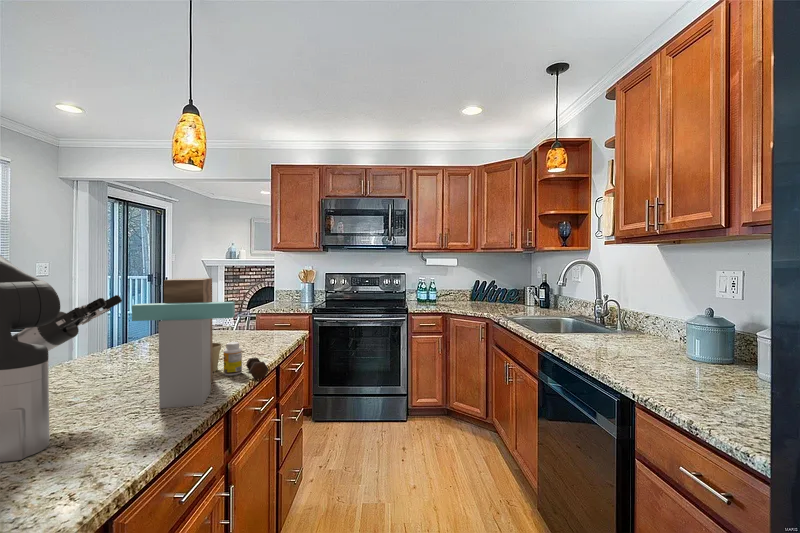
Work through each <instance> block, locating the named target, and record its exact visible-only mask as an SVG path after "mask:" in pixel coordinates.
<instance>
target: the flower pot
mask: <svg viewBox="0 0 800 533" xmlns="http://www.w3.org/2000/svg"><path fill="white" fill-rule="evenodd" d="M222 346H223V343H220V342H212V347H213V373H214V372H216V371H217V370H218V367H219V361H220V353H221V350H222Z"/></svg>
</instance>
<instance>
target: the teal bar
mask: <svg viewBox="0 0 800 533" xmlns="http://www.w3.org/2000/svg"><path fill="white" fill-rule="evenodd" d="M235 304H236V303H235V301H212V302H196V303H164V302H160V303H157V302H156V303H154V302H153V303H152V302H151V303H136V304H132V305H131V321H132V322H142V321H143V322H148V321H162V320H182V319H212V320H214V319H233V318H234V317H235V316H236V306H235Z"/></svg>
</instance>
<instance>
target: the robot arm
mask: <svg viewBox="0 0 800 533" xmlns="http://www.w3.org/2000/svg"><path fill="white" fill-rule="evenodd" d="M122 302H123V299H122V297H121V296H120V295H119V294H115V295H114V296H112V297H110V298H108V299H106V300H105V299H104V298H103V297H99V298H97V299H95V300H93V301H92V302H89V303H88V304H83V305H81V306H79V307H78V306H77V307H75V308H73V309H71V310H70V311H68V312H65V311H61V300H60V297H59V295H58V292H57V291H56V290H55V288H54V287H52V285H51V284H49V283H48V282H46V281H44V280H43V279H41V278H38V277H36V276H33V275H31V274H29V273H27V272H25V271H23V270H22V269H21V268H19V267H17V266H16V265H14V264H13V263H12V262H10V261H9V260H8V259H7V258H5V257H4V256H2V254H0V463H3V462H15V461H16V462H17V461H21V460H24V459H26V458H27V457H29V456H33V455H35V454H37V453H39V452H42V451H44V450H46V449H47V448H48V447H49V446H50V441H51V440H50V392H49V390H50V386H49V385H50V384H49V383H50V382H49V381H50V380H49V379H50V378H49V377H50V375H49V374H50V373H49V351H51V350H53V349H55V348H57V347H59V346H61V345H62V344H64V343H67V342H68V341H70V340H72V339H74V338H75V337H77V335H78V334H79V332H80V329H79V326H81V325H82V326H83V325H86V324H88V323H89V322H90V321H91V322H92V320H95V319H96V318H99V317H100V316H101V315H103V314H105V313H108V312H110V311H111V309H112V308H113V307H115V306H117V305H119V304H121V303H122ZM101 309H102V310H101ZM12 330H21V331H18V332H17V333H15V334H13V335H12Z"/></svg>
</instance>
